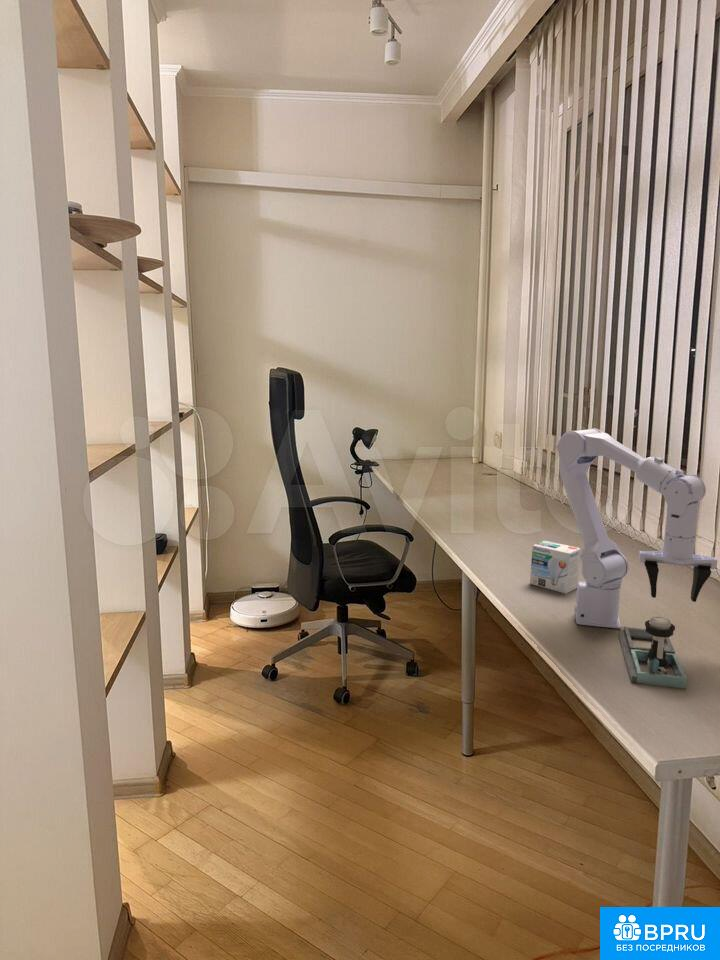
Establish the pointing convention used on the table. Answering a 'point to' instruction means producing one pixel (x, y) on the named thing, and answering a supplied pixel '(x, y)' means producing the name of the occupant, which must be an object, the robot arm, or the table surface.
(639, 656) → the grey teal rectangular frame
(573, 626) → the table surface
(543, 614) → the table surface
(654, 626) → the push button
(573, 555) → the light bulb box
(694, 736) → the table surface
